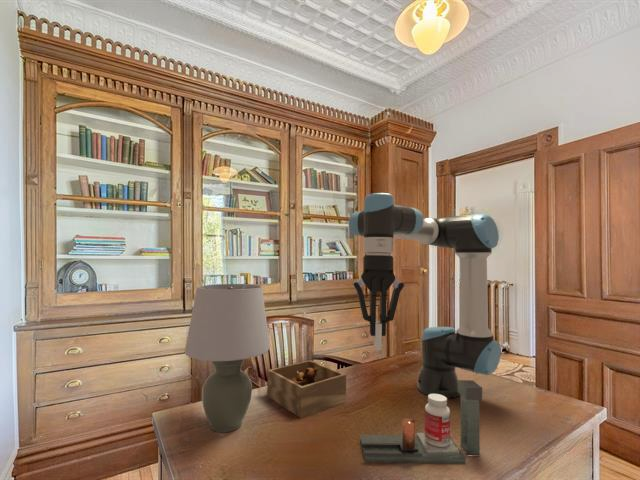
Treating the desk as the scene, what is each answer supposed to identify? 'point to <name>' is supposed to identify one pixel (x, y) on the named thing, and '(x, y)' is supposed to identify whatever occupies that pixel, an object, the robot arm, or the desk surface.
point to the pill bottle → (437, 421)
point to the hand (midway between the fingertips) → (377, 348)
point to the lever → (408, 436)
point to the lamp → (227, 347)
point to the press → (389, 451)
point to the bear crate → (306, 388)
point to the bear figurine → (305, 377)
